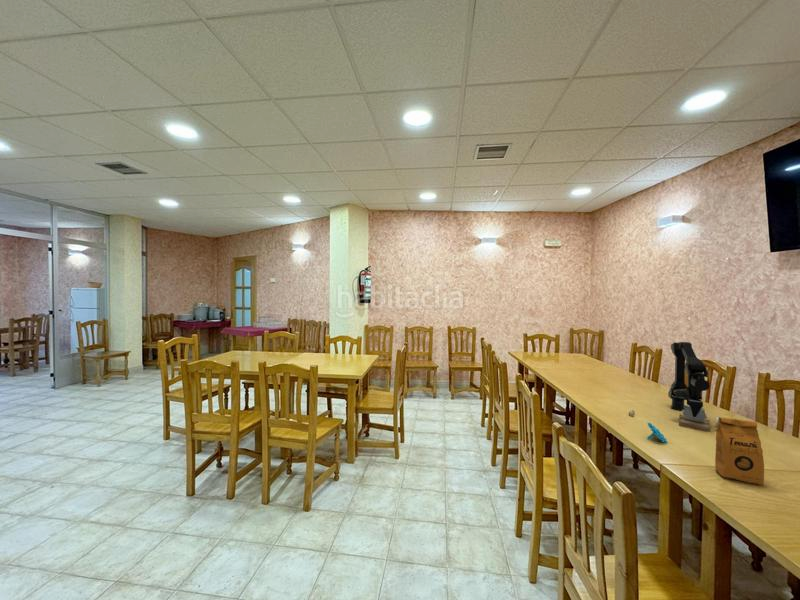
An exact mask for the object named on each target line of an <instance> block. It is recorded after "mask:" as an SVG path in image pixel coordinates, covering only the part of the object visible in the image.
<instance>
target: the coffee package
mask: <svg viewBox="0 0 800 600" xmlns="http://www.w3.org/2000/svg"><path fill="white" fill-rule="evenodd" d="M718 417H719V419H718V426H717V428H716V434H715V435H716V437H715V454H714V455H715V458H714V460H715V461H714V462H715V464H714V465H715V467H714V468H715V470H716V472H717V473H718V474H719V475H720V476H722V477H724V478H727V479H731V480H737V481H741V482H744V483H745V482H746V483H750V484H755V485H759V486H762V485H763V483H765V461H764V455H763V454H764V452H763V451H764V450H763V448H762V443H761V439H760V435H759V431H758V428H757V427H758V421H751V420H743V419H737V418H730V417H724V418H722V417H723V416H718Z"/></svg>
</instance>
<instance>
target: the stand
mask: <svg viewBox="0 0 800 600" xmlns="http://www.w3.org/2000/svg"><path fill="white" fill-rule="evenodd" d="M678 417H679V418H678V426H679V427H683V428H687V429H693V430H698V431H702V432H706V433H707V432H709V433H711V424H710V420H709V419H706V418H705V423H702V422H697V421H691V420H686V419H684V414H679V416H678Z"/></svg>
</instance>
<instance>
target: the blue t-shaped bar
mask: <svg viewBox="0 0 800 600" xmlns="http://www.w3.org/2000/svg"><path fill="white" fill-rule="evenodd" d="M647 426H648V427H649V429H650V431H651V432H652V433H650V434H649V435H648V436H646V439H648V440H650V439H652V438H653V437H658V439H659V440H660V441H662V443H664V444H666V443H668V441H667V438H665V436H664V435H663V433H661V431H660V429H658V428H657V427H656V426H655V425H653V424H652V423H651V422H647Z"/></svg>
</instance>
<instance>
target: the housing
mask: <svg viewBox="0 0 800 600" xmlns="http://www.w3.org/2000/svg"><path fill="white" fill-rule="evenodd" d="M681 415H684V419H686V420H691V421H697V422H702V423H705V419H706V420H708V419H707V417H708V414H707V413H706V409H705V408H704V407H702V408H701V410H700V411H699V413H698V414H697V416H696V417H693V415H692V410H691V407H690V406H689V405H685V404H684V410H682V411H681Z"/></svg>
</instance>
